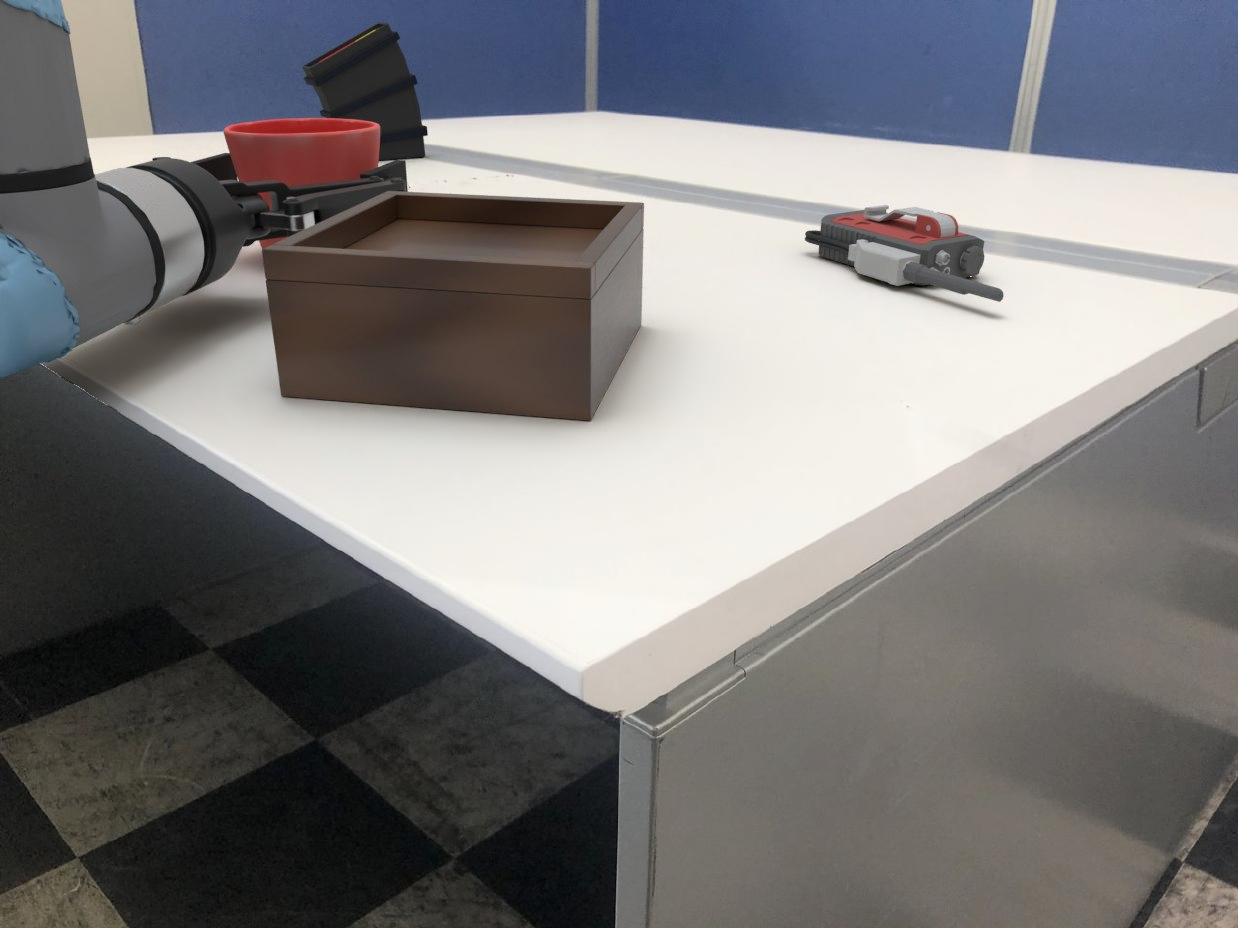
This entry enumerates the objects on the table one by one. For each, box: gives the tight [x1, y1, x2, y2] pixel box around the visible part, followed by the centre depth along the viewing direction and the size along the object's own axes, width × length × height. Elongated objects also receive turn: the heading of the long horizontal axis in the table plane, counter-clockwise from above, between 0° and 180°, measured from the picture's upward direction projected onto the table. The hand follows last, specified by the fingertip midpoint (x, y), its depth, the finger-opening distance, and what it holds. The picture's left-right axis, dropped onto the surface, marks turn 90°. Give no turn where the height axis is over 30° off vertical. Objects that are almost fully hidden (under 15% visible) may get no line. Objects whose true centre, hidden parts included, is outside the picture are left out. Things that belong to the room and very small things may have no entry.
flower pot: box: [223, 117, 380, 250], centre depth 76 cm, size 11×11×10 cm
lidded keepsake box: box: [261, 191, 645, 421], centre depth 56 cm, size 16×16×8 cm
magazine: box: [301, 21, 429, 161], centre depth 121 cm, size 4×13×15 cm, turn 123°
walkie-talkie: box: [804, 204, 1004, 303], centre depth 74 cm, size 9×4×20 cm
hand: (316, 175), depth 77 cm, fingers open, 13 cm apart
